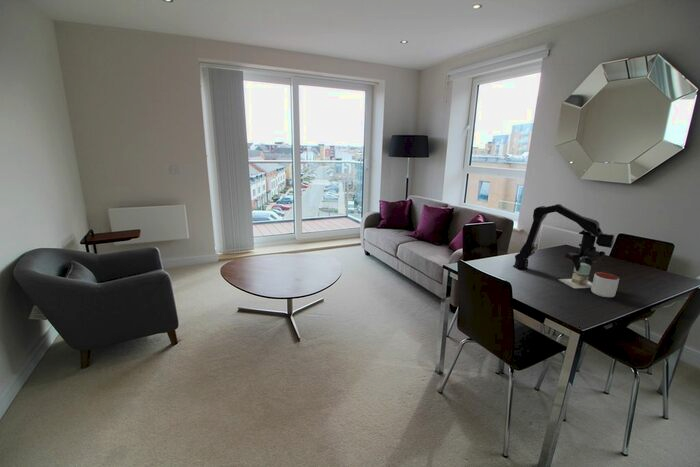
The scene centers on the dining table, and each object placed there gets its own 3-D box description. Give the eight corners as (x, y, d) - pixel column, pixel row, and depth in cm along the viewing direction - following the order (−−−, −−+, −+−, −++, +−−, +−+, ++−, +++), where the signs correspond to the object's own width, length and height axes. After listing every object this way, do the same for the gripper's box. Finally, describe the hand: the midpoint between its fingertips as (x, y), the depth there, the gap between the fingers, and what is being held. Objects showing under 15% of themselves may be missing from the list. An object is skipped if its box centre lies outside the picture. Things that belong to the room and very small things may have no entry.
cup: (610, 291, 169) (614, 273, 166) (618, 299, 160) (623, 281, 157) (587, 288, 172) (591, 271, 169) (594, 296, 163) (598, 278, 160)
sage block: (580, 274, 173) (582, 266, 172) (573, 271, 178) (575, 262, 177) (589, 274, 174) (591, 265, 173) (581, 271, 179) (583, 262, 178)
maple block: (578, 285, 175) (580, 276, 174) (571, 281, 180) (573, 273, 179) (586, 284, 176) (588, 276, 174) (579, 281, 180) (581, 272, 179)
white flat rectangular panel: (574, 288, 171) (574, 288, 171) (557, 279, 183) (557, 279, 183) (601, 287, 173) (601, 287, 173) (583, 279, 184) (583, 278, 184)
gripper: (584, 248, 163) (577, 277, 167) (617, 247, 165) (610, 276, 169) (567, 242, 174) (561, 269, 178) (598, 241, 176) (592, 268, 180)
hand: (581, 270), depth 176 cm, fingers closed on sage block, 5 cm apart
